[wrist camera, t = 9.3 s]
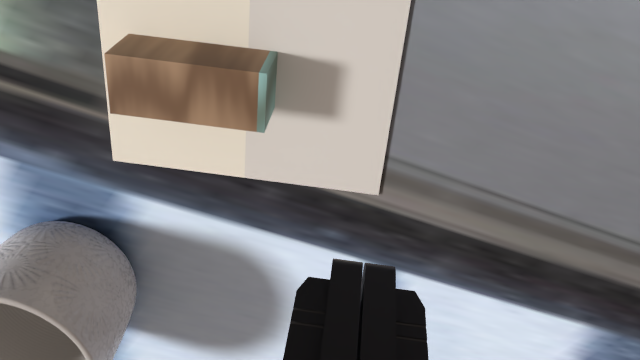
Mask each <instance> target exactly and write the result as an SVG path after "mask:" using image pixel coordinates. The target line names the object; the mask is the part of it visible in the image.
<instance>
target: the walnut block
mask: <svg viewBox="0 0 640 360" xmlns="http://www.w3.org/2000/svg"><path fill="white" fill-rule="evenodd" d="M104 56H105V66H106V76H107V86H108V96H109V106H110V113H111V114H119V115H126V116H134V117H142V118H150V119H158V120H166V121H174V122H182V123H189V124H197V125H205V126H213V127H221V128H229V129H237V130H244V131H252V132H260V133H265V130H266V128H267V125H268V123H269V120H270V118H271V115H272V113H273V110H274V108H275V93H276V75H277V57H278V52H277V51H268V50H260V49H252V48H244V47H235V46H227V45H219V44H211V43H203V42H194V41H186V40H178V39H170V38H162V37H153V36H145V35H137V34H127V35H126V36H125V37H124V38H123V39H121V40H120V41H119V42H118V43H117V44H115V45H114V46H113V47H112V48H110V49H109V50H108V51H107V52H106V53H104Z"/></svg>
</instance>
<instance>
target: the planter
mask: <svg viewBox="0 0 640 360" xmlns="http://www.w3.org/2000/svg"><path fill="white" fill-rule="evenodd" d="M136 292H137V286H136V278H135V274H134V271H133V269H132V266H131V264H130V262H129V261H128V259H127V257H126V256H125V255H124V253H123V252H122V251H121V250H120V249H119V248H118V247H117V246H116V245H115V244H114V243H113V242H112V241H111V240H109V239H108V238H107V237H105V236H104V235H102V234H101V233H99V232H97V231H95V230H93V229H91V228H88V227H86V226H83V225H80V224H76V223H72V222H65V221H47V222H41V223H37V224H34V225H31V226H28V227H26V228H24V229H22V230H20V231H19V232H17V233H15V234H14V235H12V236H11V237H10V238H8V239H7V240H6V241H5V242H3V243H2V244H1V245H0V360H113V358H114V355H115V353H116V351H117V349H118V347H119V344H120V342H121V340H122V338H123V335H124V333H125V331H126V328H127V326H128V323H129V321H130V318H131V315H132V312H133V308H134V305H135V300H136Z"/></svg>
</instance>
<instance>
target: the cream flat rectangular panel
mask: <svg viewBox="0 0 640 360" xmlns="http://www.w3.org/2000/svg"><path fill="white" fill-rule="evenodd" d="M410 3H411V0H97V7H98V17H99V27H100V36H101V46H102V56H103V66H104V76H105V86H106V96H107V106H108V116H109V126H110V136H111V145H112V155H113V161H121V162H128V163H136V164H144V165H151V166H159V167H167V168H174V169H182V170H190V171H197V172H205V173H213V174H220V175H228V176H236V177H243V178H251V179H259V180H266V181H274V182H282V183H289V184H297V185H305V186H313V187H320V188H328V189H336V190H343V191H351V192H359V193H366V194H374V195H379V189H380V183H381V177H382V171H383V165H384V159H385V153H386V147H387V141H388V135H389V129H390V123H391V117H392V111H393V105H394V99H395V93H396V87H397V81H398V75H399V69H400V63H401V57H402V51H403V45H404V39H405V33H406V27H407V21H408V15H409V9H410ZM127 34H137V35H145V36H153V37H162V38H170V39H178V40H186V41H194V42H203V43H211V44H219V45H227V46H235V47H244V48H252V49H260V50H268V51H277V52H278V57H277V75H276V93H275V108H274V110H273V113H272V115H271V118H270V120H269V123H268V125H267V128H266V130H265V133H260V132H252V131H244V130H237V129H229V128H221V127H213V126H205V125H197V124H189V123H182V122H174V121H166V120H158V119H150V118H142V117H134V116H126V115H119V114H111V113H110V106H109V96H108V86H107V76H106V66H105V56H104V53H106V52H107V51H108V50H109V49H110V48H112V47H113V46H114V45H115V44H117V43H118V42H119V41H120V40H121V39H123V38H124V37H125V36H126V35H127Z"/></svg>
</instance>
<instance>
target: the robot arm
mask: <svg viewBox="0 0 640 360" xmlns="http://www.w3.org/2000/svg"><path fill="white" fill-rule="evenodd" d="M362 268H363V263H362V262H355V261H347V260H340V259H333V263H332V271H331V278H330V280H327V279H320V278H313V277H308V278H307V279H306V280H305V282H304V283H303V284H302V285H301V286H300V287H299V288H298V290H297V292H296V297H295V302H294V307H293V312H292V317H291V323H290V327H289V332H288V337H287V342H286V347H285V353H284V358H283V360H428V347H427V333H426V318H425V307H424V306H423V304H422V302H421V301H420V299H419V297H418V296H417V294H416V292H415V291H409V290H402V289H396V272H395V267H393V266H385V265H378V264H371V263H365V265H364V270H363V276H362Z"/></svg>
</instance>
